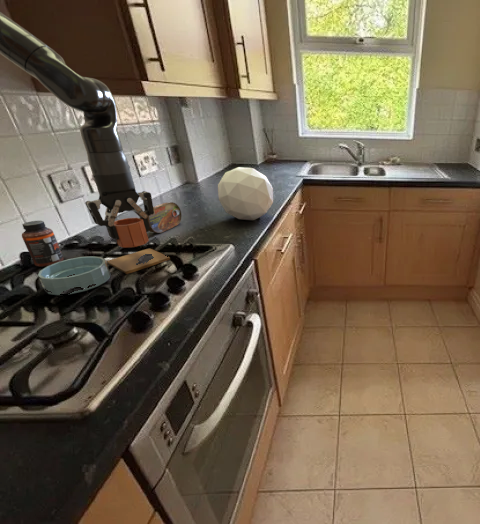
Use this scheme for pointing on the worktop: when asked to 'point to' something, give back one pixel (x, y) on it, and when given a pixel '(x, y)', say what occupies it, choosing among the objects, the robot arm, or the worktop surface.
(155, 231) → the tin
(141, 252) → the board
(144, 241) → the small bowl
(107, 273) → the big bowl
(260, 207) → the ball
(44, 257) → the supplement bottle
